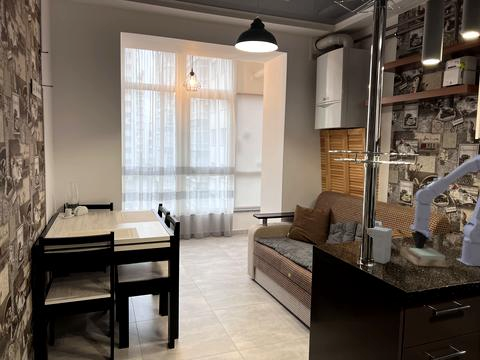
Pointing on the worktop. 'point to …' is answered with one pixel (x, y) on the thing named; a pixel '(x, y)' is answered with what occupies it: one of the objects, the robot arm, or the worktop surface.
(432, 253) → the cover plate
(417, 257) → the wooden box
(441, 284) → the worktop surface
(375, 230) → the small box
